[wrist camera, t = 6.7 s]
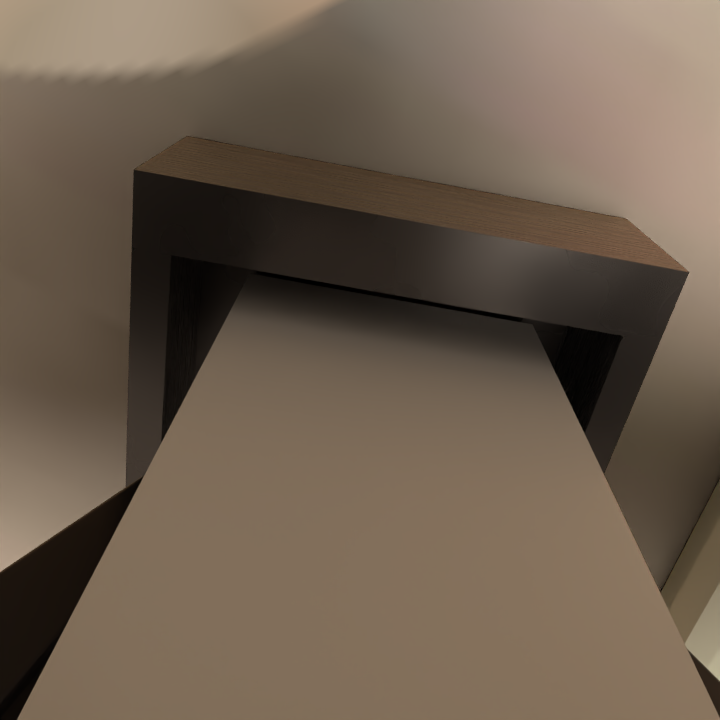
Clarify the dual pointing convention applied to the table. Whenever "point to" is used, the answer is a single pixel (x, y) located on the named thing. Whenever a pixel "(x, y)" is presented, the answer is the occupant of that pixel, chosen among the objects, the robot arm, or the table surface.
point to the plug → (371, 538)
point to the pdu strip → (382, 271)
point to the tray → (699, 588)
